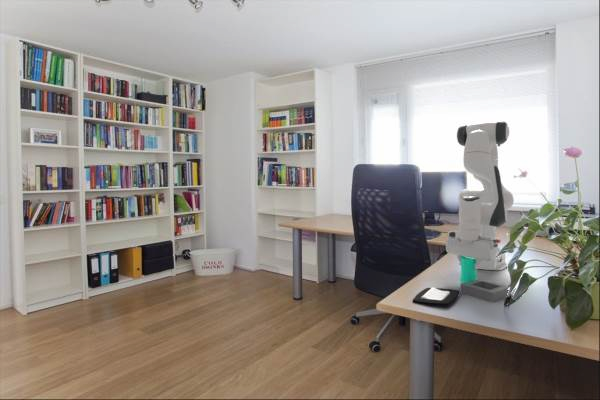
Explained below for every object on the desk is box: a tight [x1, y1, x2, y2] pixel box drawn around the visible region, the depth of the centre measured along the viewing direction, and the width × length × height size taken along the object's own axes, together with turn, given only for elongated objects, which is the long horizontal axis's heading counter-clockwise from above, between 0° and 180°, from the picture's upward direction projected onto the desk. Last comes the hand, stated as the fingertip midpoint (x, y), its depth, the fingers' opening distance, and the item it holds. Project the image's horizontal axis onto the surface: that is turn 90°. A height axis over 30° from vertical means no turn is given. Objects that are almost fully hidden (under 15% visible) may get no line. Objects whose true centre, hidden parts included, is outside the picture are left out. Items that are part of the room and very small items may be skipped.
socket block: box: [459, 278, 509, 303], centre depth 147 cm, size 13×13×4 cm
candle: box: [460, 256, 478, 284], centre depth 160 cm, size 6×6×12 cm
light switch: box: [412, 286, 460, 307], centre depth 142 cm, size 20×3×14 cm
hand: (468, 267), depth 160 cm, fingers closed on candle, 5 cm apart
